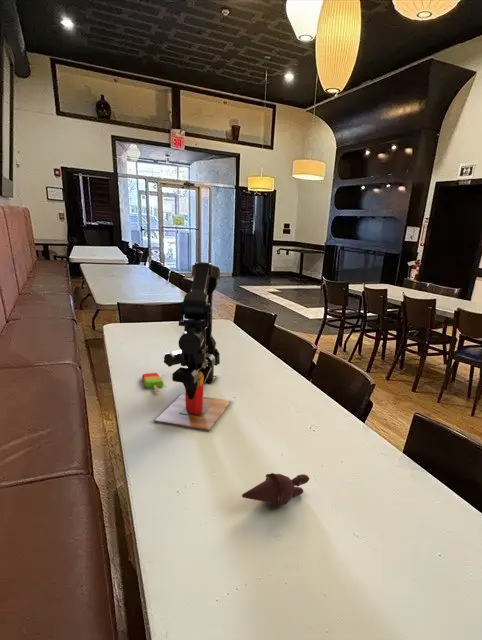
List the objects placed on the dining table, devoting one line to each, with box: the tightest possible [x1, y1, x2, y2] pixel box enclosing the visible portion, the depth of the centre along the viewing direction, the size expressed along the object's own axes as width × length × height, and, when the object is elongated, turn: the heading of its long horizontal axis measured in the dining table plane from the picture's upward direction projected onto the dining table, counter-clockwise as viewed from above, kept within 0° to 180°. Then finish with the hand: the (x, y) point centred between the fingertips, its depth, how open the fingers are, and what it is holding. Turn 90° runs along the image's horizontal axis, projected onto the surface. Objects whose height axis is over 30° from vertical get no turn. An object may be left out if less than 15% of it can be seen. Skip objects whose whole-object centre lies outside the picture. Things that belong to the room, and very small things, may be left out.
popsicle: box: [141, 372, 164, 393], centre depth 138 cm, size 6×15×2 cm, turn 25°
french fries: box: [184, 371, 205, 414], centre depth 120 cm, size 8×4×12 cm, turn 32°
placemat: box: [154, 393, 231, 432], centre depth 123 cm, size 20×16×1 cm
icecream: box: [241, 472, 310, 509], centre depth 85 cm, size 7×7×15 cm
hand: (195, 394), depth 121 cm, fingers closed on french fries, 6 cm apart
